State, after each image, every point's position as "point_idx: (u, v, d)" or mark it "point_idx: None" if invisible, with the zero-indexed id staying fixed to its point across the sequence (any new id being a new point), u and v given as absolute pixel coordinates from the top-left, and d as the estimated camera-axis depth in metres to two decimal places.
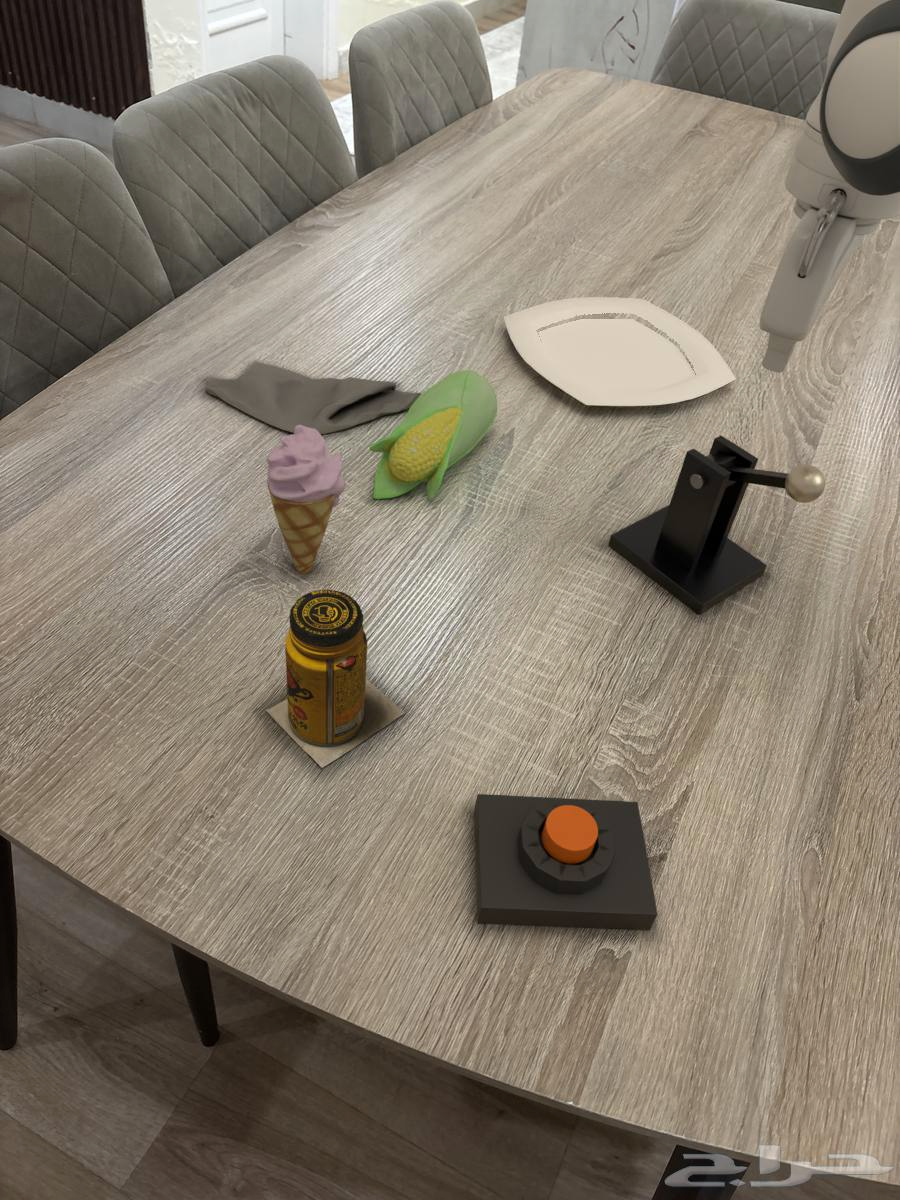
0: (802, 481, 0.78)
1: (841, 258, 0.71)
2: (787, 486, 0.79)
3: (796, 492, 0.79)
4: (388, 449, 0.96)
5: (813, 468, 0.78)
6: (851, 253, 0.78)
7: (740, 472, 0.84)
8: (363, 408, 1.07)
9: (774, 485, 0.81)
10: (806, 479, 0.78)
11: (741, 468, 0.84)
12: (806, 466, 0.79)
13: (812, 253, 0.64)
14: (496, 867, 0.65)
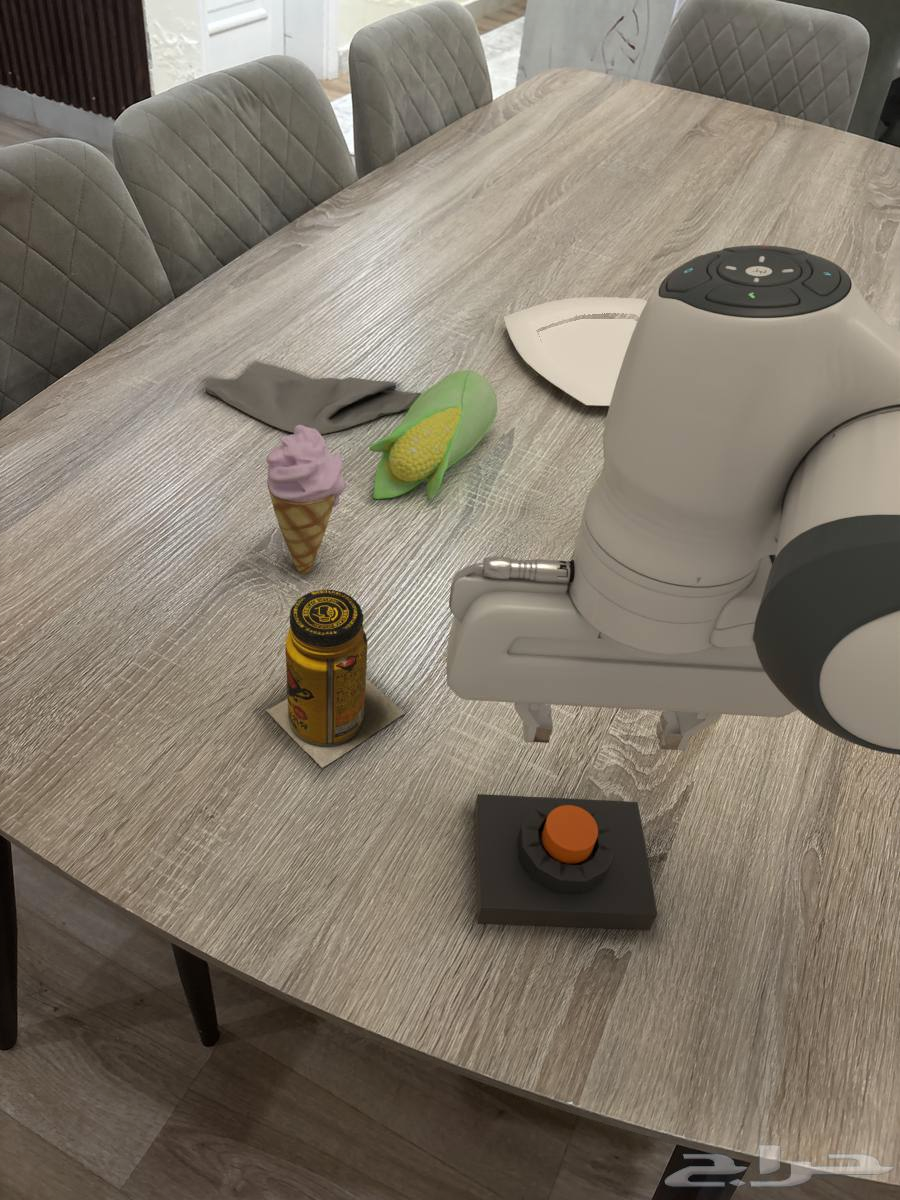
0: None
1: (600, 661, 0.50)
2: None
3: None
4: (388, 449, 0.96)
5: None
6: (735, 700, 0.52)
7: None
8: (363, 408, 1.07)
9: None
10: None
11: None
12: None
13: (454, 596, 0.49)
14: (496, 867, 0.65)
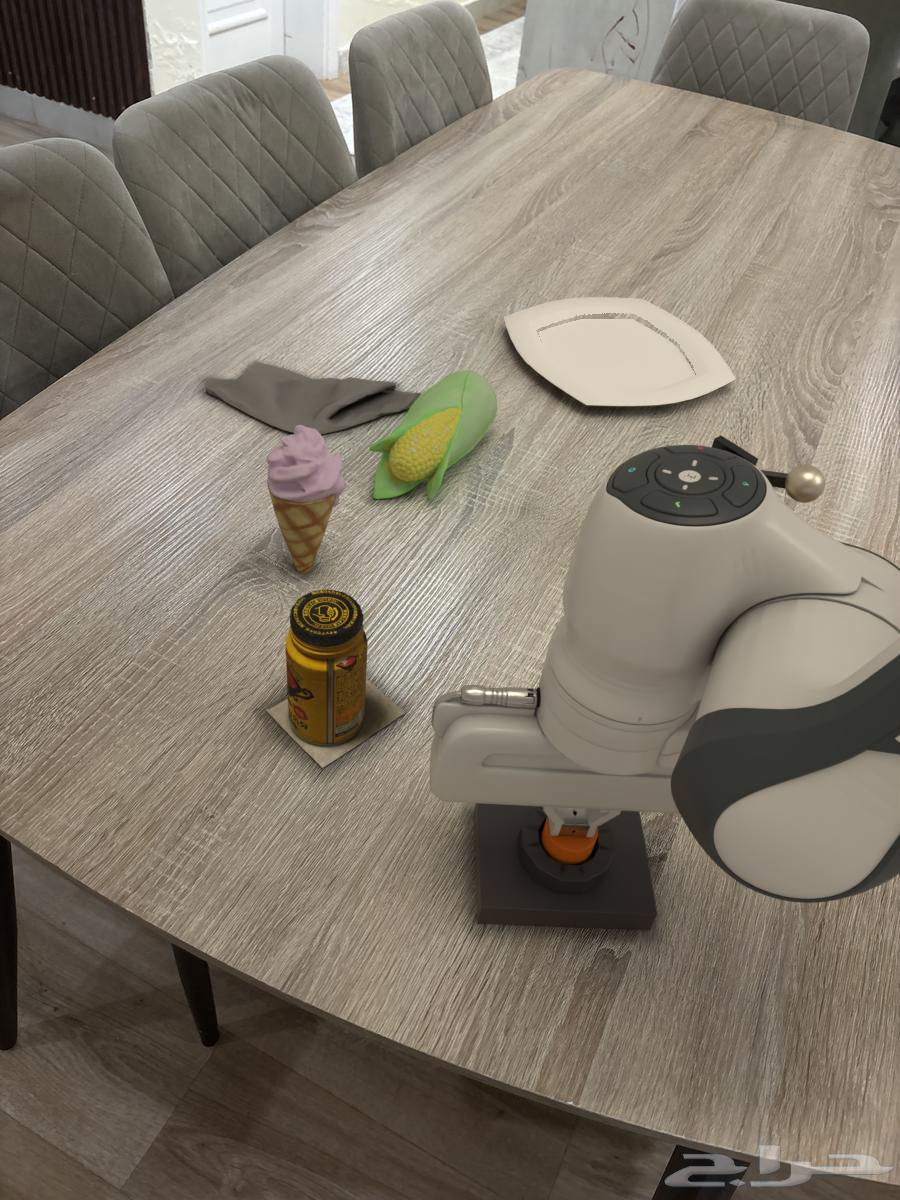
0: (802, 481, 0.78)
1: (564, 771, 0.57)
2: (787, 486, 0.79)
3: (796, 492, 0.79)
4: (388, 449, 0.96)
5: (813, 468, 0.78)
6: None
7: None
8: (363, 408, 1.07)
9: (774, 485, 0.81)
10: (806, 479, 0.78)
11: None
12: (806, 466, 0.79)
13: (436, 717, 0.55)
14: (496, 867, 0.65)
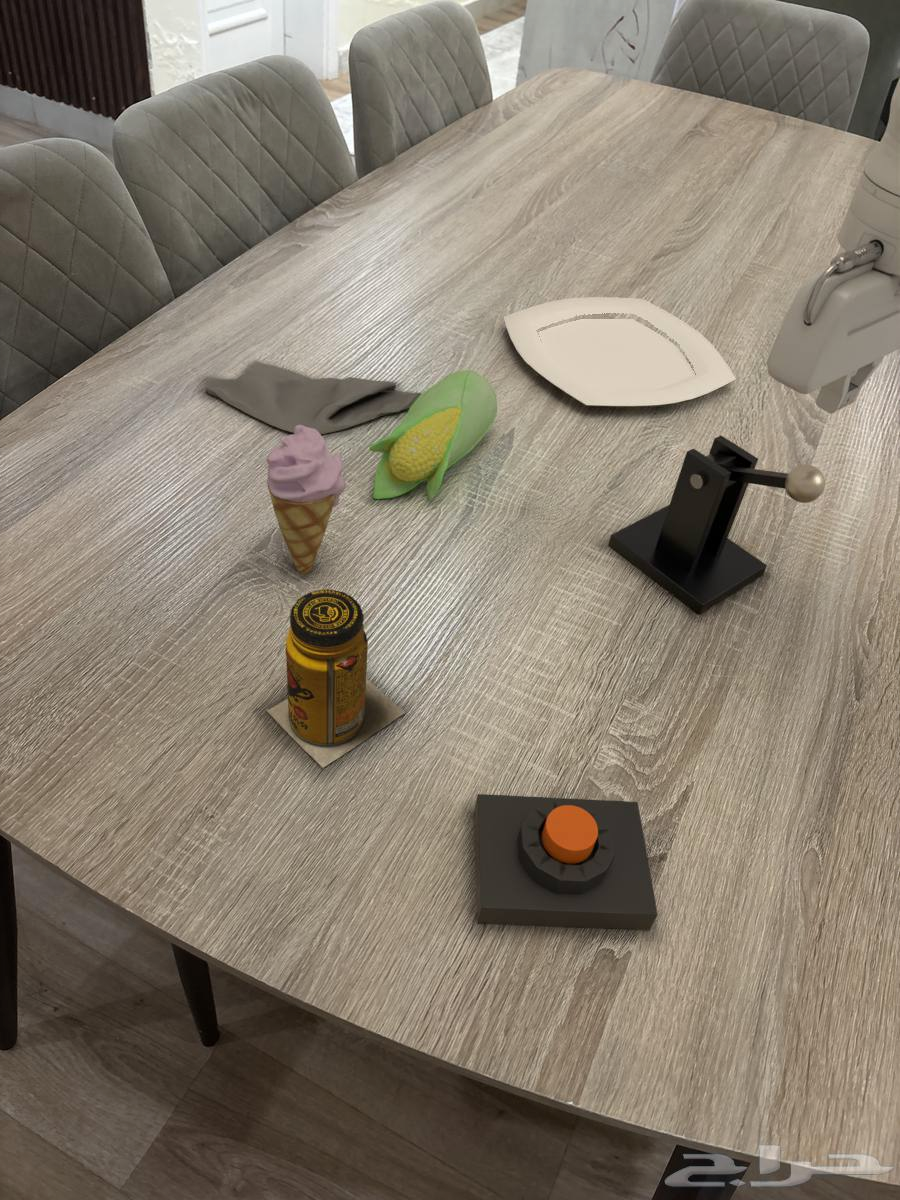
0: (802, 481, 0.78)
1: (884, 318, 0.65)
2: (787, 486, 0.79)
3: (796, 492, 0.79)
4: (388, 449, 0.96)
5: (813, 468, 0.78)
6: None
7: (740, 472, 0.84)
8: (363, 408, 1.07)
9: (774, 485, 0.81)
10: (806, 479, 0.78)
11: (741, 468, 0.84)
12: (806, 466, 0.79)
13: (816, 299, 0.60)
14: (496, 867, 0.65)
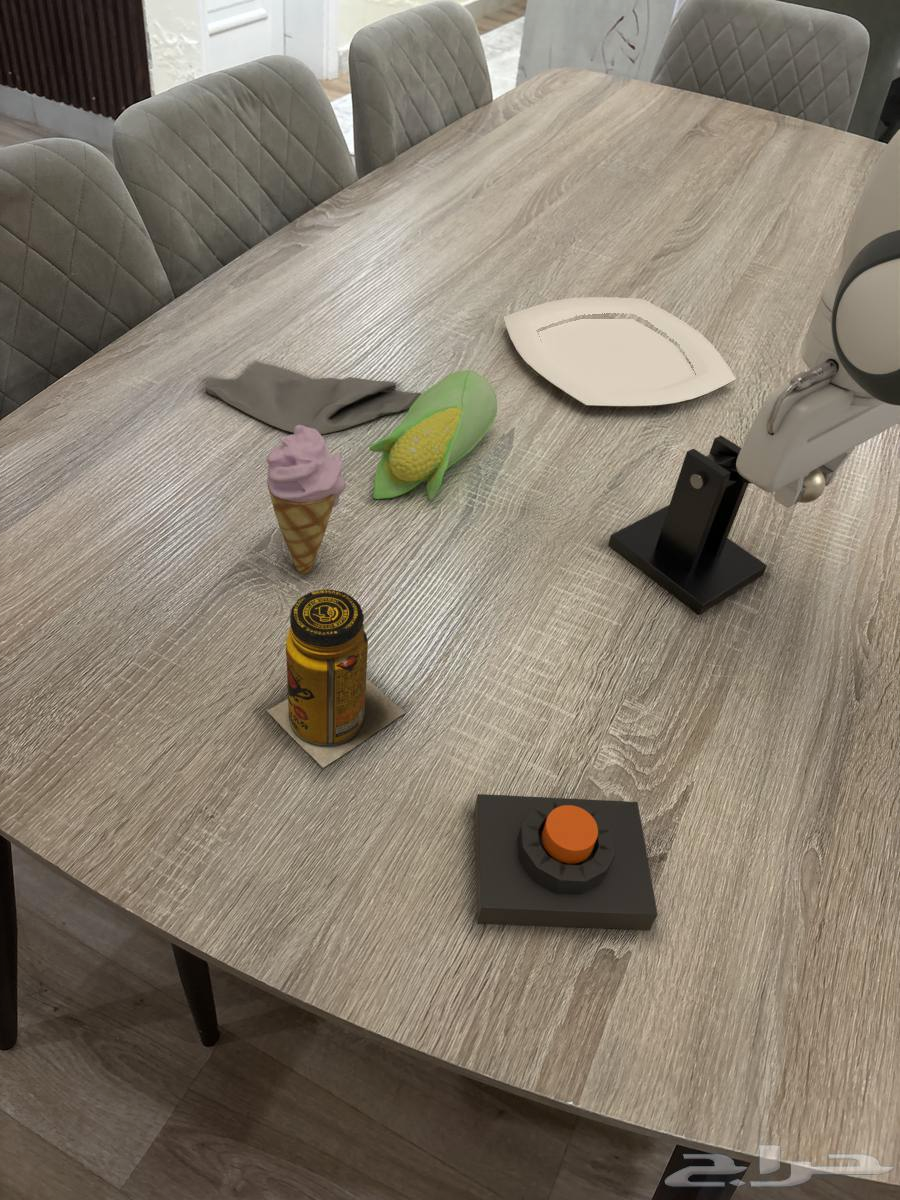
0: None
1: (842, 423, 0.72)
2: None
3: None
4: (388, 449, 0.96)
5: None
6: (888, 420, 0.78)
7: None
8: (363, 408, 1.07)
9: None
10: (806, 479, 0.78)
11: None
12: None
13: (777, 414, 0.67)
14: (496, 867, 0.65)
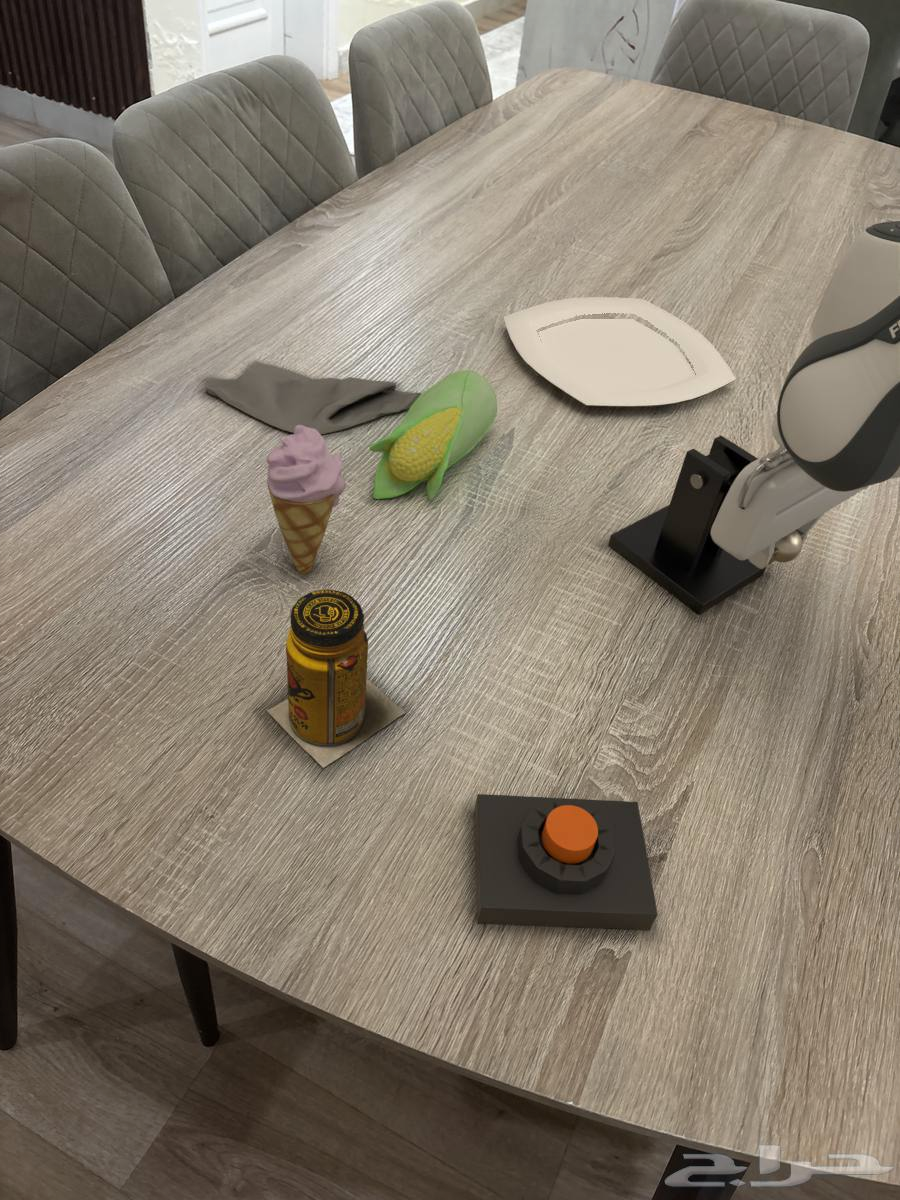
0: (783, 550, 0.82)
1: (810, 495, 0.77)
2: None
3: None
4: (388, 449, 0.96)
5: (798, 541, 0.82)
6: None
7: None
8: (363, 408, 1.07)
9: None
10: (788, 550, 0.82)
11: None
12: (794, 536, 0.82)
13: (747, 491, 0.72)
14: (496, 867, 0.65)
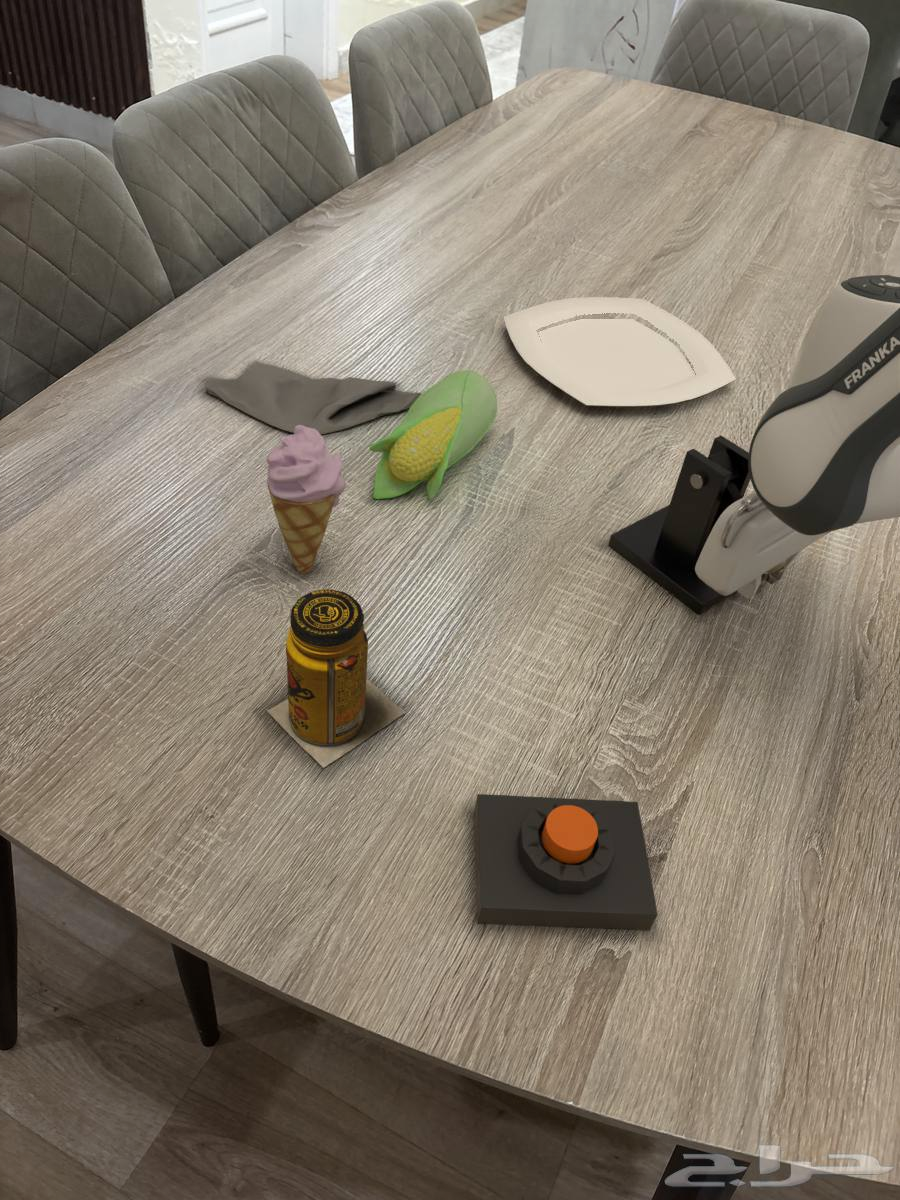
0: None
1: (791, 532, 0.80)
2: None
3: None
4: (388, 449, 0.96)
5: None
6: None
7: (733, 498, 0.85)
8: (363, 408, 1.07)
9: None
10: None
11: (736, 491, 0.86)
12: None
13: (729, 531, 0.75)
14: (496, 867, 0.65)
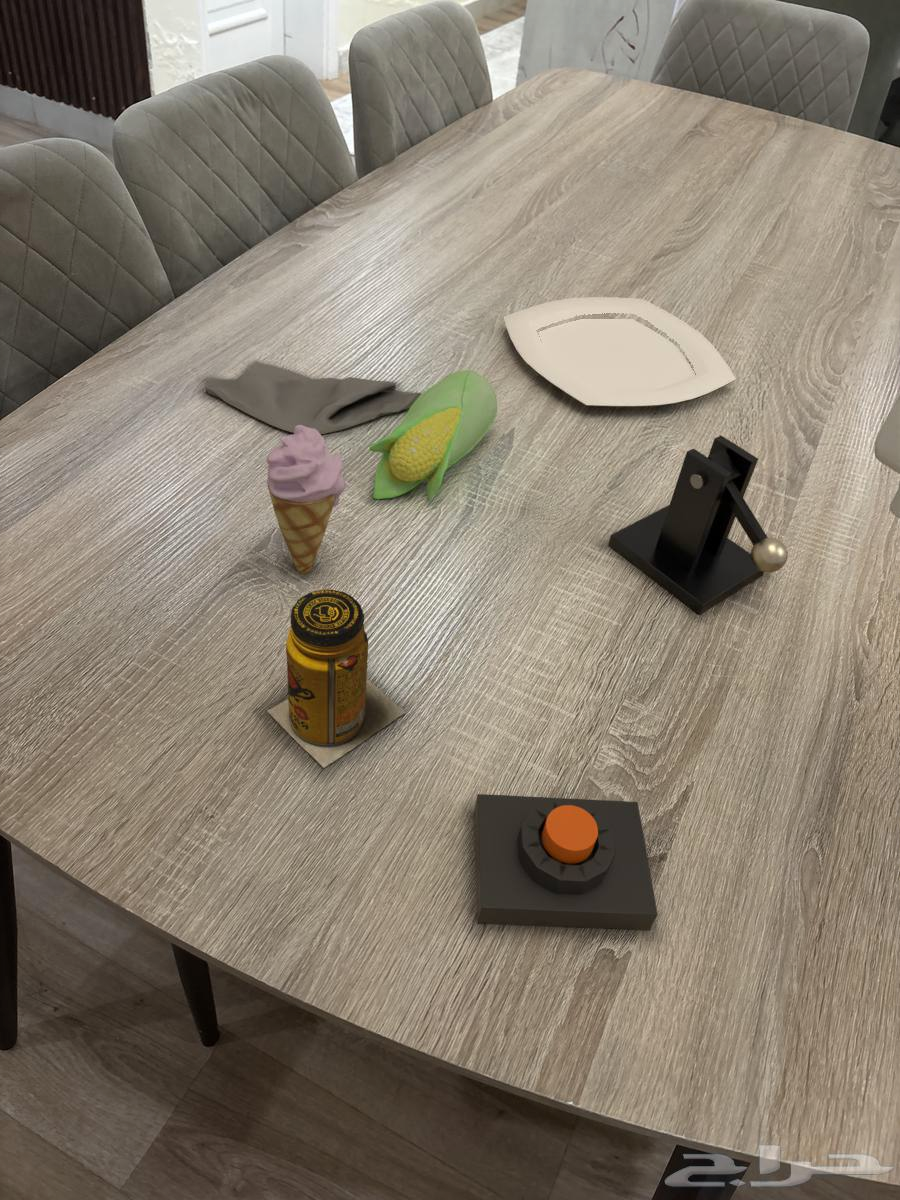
0: (769, 562, 0.84)
1: None
2: (756, 553, 0.85)
3: (758, 564, 0.85)
4: (388, 449, 0.96)
5: (785, 555, 0.84)
6: None
7: (733, 498, 0.85)
8: (363, 408, 1.07)
9: (747, 534, 0.86)
10: (773, 563, 0.84)
11: (736, 491, 0.86)
12: (782, 550, 0.84)
13: None
14: (496, 867, 0.65)
